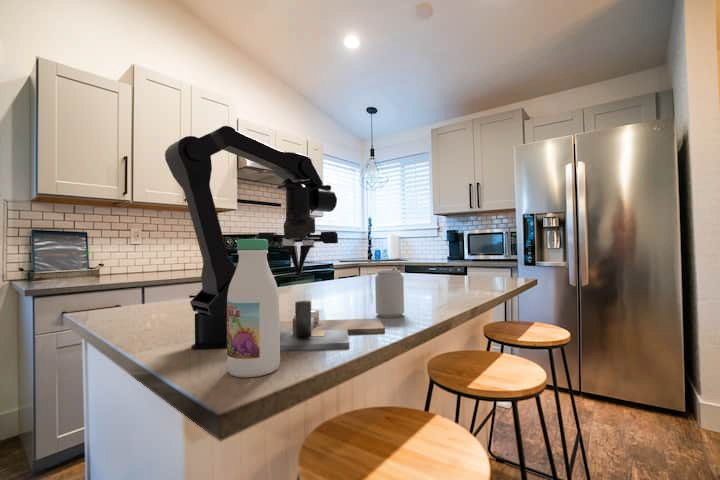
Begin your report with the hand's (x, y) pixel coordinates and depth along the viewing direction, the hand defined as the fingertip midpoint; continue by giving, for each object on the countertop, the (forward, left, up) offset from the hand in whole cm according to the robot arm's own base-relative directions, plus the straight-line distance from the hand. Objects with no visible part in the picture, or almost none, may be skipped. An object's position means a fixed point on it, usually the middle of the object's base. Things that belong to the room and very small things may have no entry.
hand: (299, 274), depth 82 cm
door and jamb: (+7, -10, -12) cm, 17 cm away
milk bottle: (-4, -29, -12) cm, 32 cm away
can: (+23, +8, -12) cm, 27 cm away
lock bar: (+3, -10, -10) cm, 15 cm away
